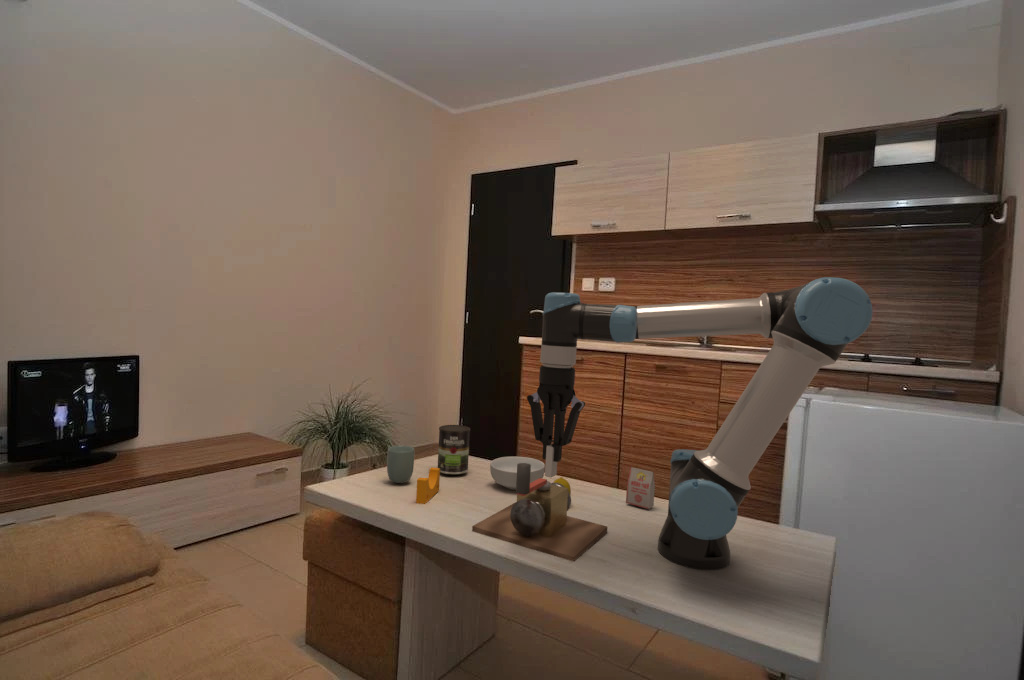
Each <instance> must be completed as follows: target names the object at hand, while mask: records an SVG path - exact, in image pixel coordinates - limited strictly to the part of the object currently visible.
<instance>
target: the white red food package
mask: <svg viewBox="0 0 1024 680" xmlns="http://www.w3.org/2000/svg"><path fill="white" fill-rule="evenodd" d="M655 488H656V484H655V475H654V471H651V470H650V471H649V470H646V469H641V468H637V467H632V466H630V467H629V473H628V477H627V482H626V497H625V503H626V504H629V505H632V506H636V507H640V508H643V509H648V510H650V509H651V508H653V507H654V505H655V503H654V502H655Z"/></svg>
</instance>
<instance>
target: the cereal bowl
mask: <svg viewBox="0 0 1024 680" xmlns="http://www.w3.org/2000/svg"><path fill="white" fill-rule="evenodd" d="M519 463H527V464H530V465H531V472H530V483H531V482H533V481H535V480H537V479H539V478H542V479H544V477H545V463H544V462H543V461H541V460H539V459H536V458H532V457H526V456H501V457H498V458H495V459H493V460H491V461H490V466H489V467H490V468H489V469H490V475H491V478H492V479H493V480H494V482H496V484H498V485H500V486H503V487H504V488H506V489H508V490H513V491H516V480H517V464H519Z"/></svg>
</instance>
